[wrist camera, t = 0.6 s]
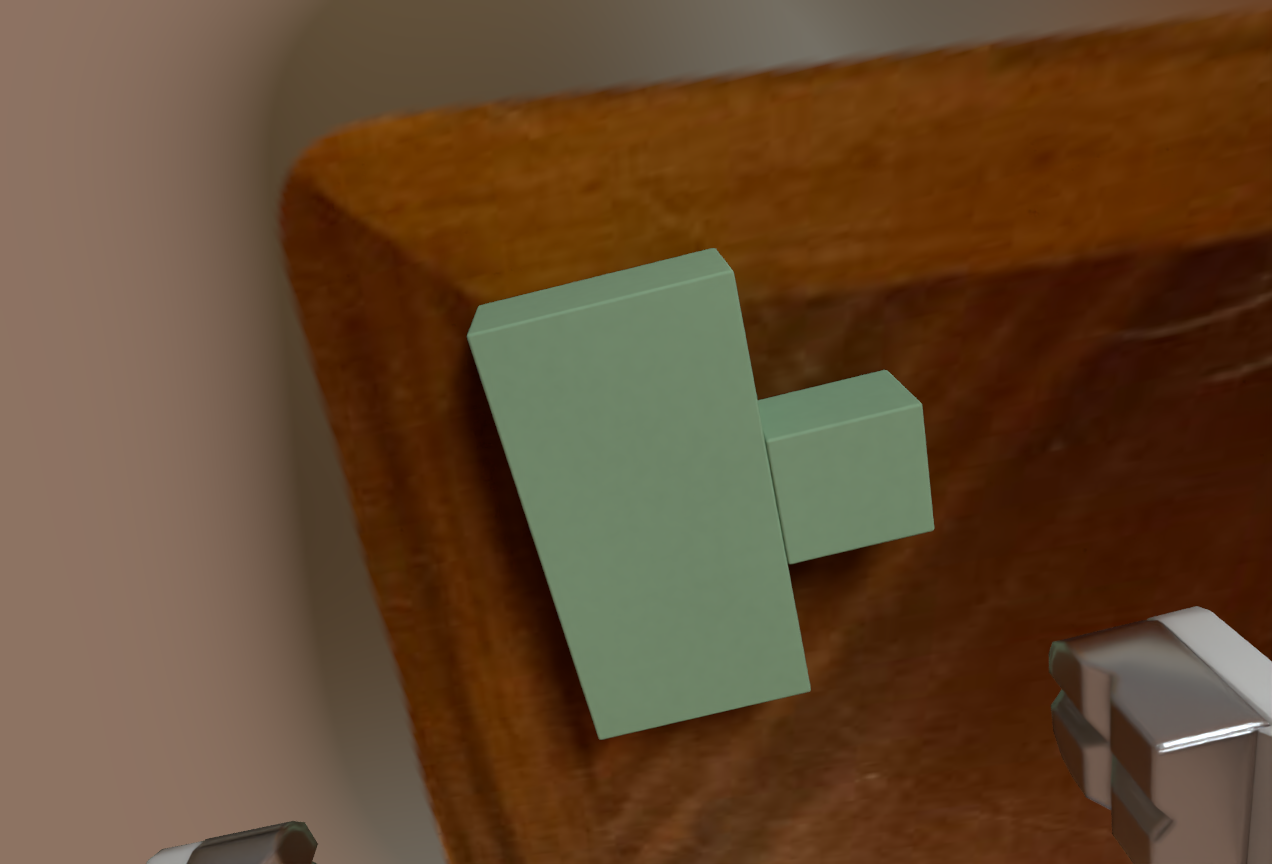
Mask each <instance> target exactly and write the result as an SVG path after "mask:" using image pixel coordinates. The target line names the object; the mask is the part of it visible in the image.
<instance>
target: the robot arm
mask: <svg viewBox="0 0 1272 864" xmlns="http://www.w3.org/2000/svg"><path fill="white" fill-rule="evenodd" d="M1049 673H1050V674H1051V676H1052V677H1053V678H1054V679H1055V681H1056V682H1057V683H1058V685H1059V686H1060V687H1061V688H1062V690H1061V692H1060V693H1059V695H1058V696H1057V698H1056V699H1055V700H1054V702H1053V703H1052V705H1051V712H1052V723H1053V732H1054V735H1055V738H1056V741H1057V744H1058V747H1059V750H1060V753H1061V756H1062V758H1063V760H1064V762H1065V764H1066V766H1067V768H1068V770H1069V772H1070V774H1071V776H1072V777H1073V779H1074V780H1075V782H1076V783H1077V785H1078V786H1079V788H1080V789H1081V790H1082V792H1083V793H1084V795H1085V796H1086V797H1087V798H1089V799H1091V800H1093V801H1095V802H1097V803H1099V804H1101V805H1102V806H1104V807H1106V808H1108V809H1110V810H1111V815H1112V834H1113V836H1114V837H1115V839H1116V840H1117V841H1118V843H1119V844H1120V845H1121V847H1122V848H1123V850H1124V851H1125V852H1126V854H1127V855H1128V857H1129V858H1130V859H1131V861H1132V862H1133V864H1272V661H1270V660H1269V659H1268V658H1267V657H1266V656H1264V655H1263V654H1262V653H1261V652H1260V651H1258V650H1257V649H1256V648H1255V647H1253V646H1252V645H1251V644H1250V643H1249V642H1247V641H1246V640H1245V639H1244V638H1243V637H1241V636H1240V635H1239V634H1238V633H1237V632H1235V631H1234V630H1233V629H1232V628H1231V627H1229V626H1228V625H1227V624H1226V623H1225V622H1223V621H1222V620H1221V619H1220V618H1218V617H1217V616H1216V615H1215V614H1214V613H1212V612H1211V611H1210V610H1207V609H1204V608H1201V607H1198V606H1196V607H1192V608H1188V609H1184V610H1180V611H1176V612H1172V613H1168V614H1164V615H1160V616H1156V617H1152V618H1149V619H1148V620H1142V621H1138V622H1134V623H1129V624H1125V625H1121V626H1117V627H1113V628H1109V629H1105V630H1101V631H1097V632H1093V633H1088V634H1084V635H1080V636H1076V637H1072V638H1068V639H1064V640H1060V641H1056V642H1053V643H1052V646H1051V648H1050V651H1049ZM317 845H318V844H317V842H316V840H315V839H314V837H313V835H312V834H311V832H310V830H309V829H308V827H307V825H306V824H305V823H304V822H295V821H291V822H286V823H281V824H277V825H271V826H267V827H262V828H257V829H252V830H248V831H243V832H238V833H233V834H228V835H223V836H219V837H214V838H209V839H206V840H205V841H201V842H196V843H191V844H186V845H181V846H176V847H171V848H166V849H162V850H160V851H159V852H158V853H157V854H156V855H154V856H153V857H152V858H150V859H149V860H148V861H147V863H146V864H316V863H314V862H313V861H312V860H313V857H314V854H315V851H316V848H317Z"/></svg>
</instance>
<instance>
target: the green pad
mask: <svg viewBox="0 0 1272 864" xmlns="http://www.w3.org/2000/svg"><path fill="white" fill-rule="evenodd" d="M467 339H468V342H469V345H470V349H471V352H472V355H473V358H474V361H475V364H476V367H477V370H478V373H479V376H480V379H481V382H482V385H483V388H484V391H485V394H486V397H487V400H488V403H489V406H490V409H491V412H492V416H493V419H494V422H495V425H496V428H497V431H498V434H499V437H500V440H501V443H502V446H503V449H504V452H505V455H506V458H507V461H508V464H509V467H510V470H511V473H512V476H513V479H514V483H515V486H516V489H517V492H518V495H519V498H520V501H521V504H522V507H523V510H524V513H525V516H526V519H527V522H528V525H529V528H530V531H531V534H532V537H533V540H534V543H535V546H536V550H537V553H538V556H539V559H540V562H541V565H542V568H543V571H544V574H545V577H546V580H547V583H548V586H549V589H550V592H551V595H552V598H553V601H554V604H555V607H556V610H557V613H558V617H559V620H560V623H561V626H562V629H563V632H564V635H565V638H566V641H567V644H568V647H569V650H570V653H571V656H572V659H573V662H574V665H575V668H576V671H577V674H578V677H579V680H580V684H581V687H582V690H583V693H584V696H585V699H586V702H587V705H588V708H589V711H590V714H591V717H592V720H593V723H594V726H595V729H596V732H597V735H598V738H599V739H600V740H603V739H607V738H612V737H616V736H620V735H624V734H629V733H633V732H637V731H642V730H646V729H650V728H655V727H659V726H663V725H668V724H672V723H676V722H681V721H685V720H689V719H694V718H698V717H702V716H707V715H711V714H715V713H720V712H724V711H728V710H733V709H737V708H741V707H746V706H750V705H754V704H759V703H763V702H767V701H772V700H776V699H780V698H785V697H789V696H793V695H798V694H802V693H806V692H809V691H810V689H811V688H810V682H809V677H808V671H807V666H806V660H805V655H804V650H803V644H802V639H801V633H800V628H799V623H798V617H797V612H796V606H795V601H794V596H793V590H792V585H791V579H790V574H789V568H788V563H789V564H794V563H798V562H803V561H807V560H811V559H815V558H820V557H824V556H828V555H832V554H837V553H841V552H845V551H849V550H854V549H858V548H862V547H866V546H871V545H875V544H879V543H883V542H888V541H892V540H896V539H900V538H905V537H909V536H913V535H917V534H922V533H926V532H930V531H933V530H934V522H933V511H932V501H931V491H930V480H929V470H928V460H927V450H926V439H925V429H924V419H923V409H922V404H921V403H920V402H919V401H918V400H917V399H916V398H915V397H914V396H913V395H912V394H911V393H910V392H909V391H908V390H907V389H906V388H905V387H904V386H903V385H902V384H901V383H900V382H899V381H898V380H897V379H895V378H894V377H893V376H892V375H891V374H890V373H889V372H888V371H887V370H882V371H878V372H874V373H870V374H866V375H862V376H857V377H853V378H849V379H845V380H841V381H837V382H832V383H828V384H824V385H820V386H816V387H812V388H808V389H803V390H799V391H795V392H791V393H787V394H783V395H779V396H774V397H770V398H766V399H762V400H758V401H757V395H756V390H755V384H754V379H753V374H752V368H751V363H750V357H749V352H748V347H747V341H746V336H745V330H744V325H743V320H742V314H741V309H740V303H739V298H738V293H737V287H736V282H735V276H734V272H733V270H732V269H731V268H730V266H729V265H728V264H727V263H726V261H725V260H724V259H723V258H722V256H721V255H720V254H719V252H718V251H717V250H716V249H715V248H711V249H707V250H703V251H699V252H695V253H691V254H687V255H683V256H679V257H675V258H670V259H666V260H662V261H658V262H654V263H650V264H646V265H642V266H638V267H634V268H630V269H626V270H622V271H618V272H614V273H610V274H606V275H601V276H597V277H593V278H589V279H585V280H581V281H577V282H573V283H569V284H565V285H561V286H557V287H553V288H549V289H545V290H541V291H537V292H532V293H528V294H524V295H520V296H516V297H512V298H508V299H504V300H500V301H496V302H492V303H488V304H484V305H480V306H479V307H478V308H477V311H476V313H475V316H474V319H473V321H472V324H471V326H470V329H469V331H468V334H467ZM787 562H788V563H787Z"/></svg>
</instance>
